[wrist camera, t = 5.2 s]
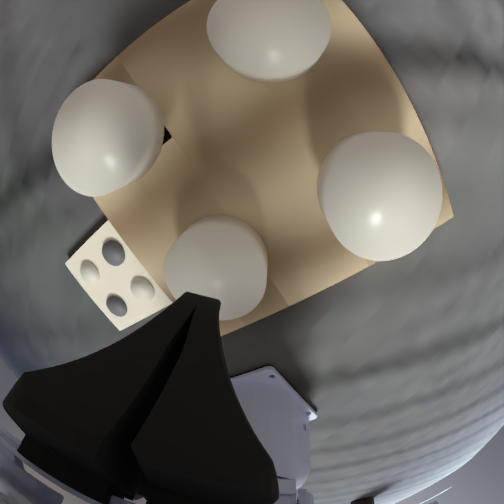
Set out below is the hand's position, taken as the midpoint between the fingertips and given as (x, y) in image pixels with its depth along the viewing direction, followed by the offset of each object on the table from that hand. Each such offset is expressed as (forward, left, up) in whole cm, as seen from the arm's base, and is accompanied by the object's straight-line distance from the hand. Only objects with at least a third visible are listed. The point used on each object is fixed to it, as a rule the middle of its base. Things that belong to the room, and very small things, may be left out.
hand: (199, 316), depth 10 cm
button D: (+8, 0, -5) cm, 10 cm away
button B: (0, 0, -7) cm, 7 cm away
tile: (+2, +8, -7) cm, 11 cm away
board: (+4, -4, -7) cm, 9 cm away
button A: (0, -8, -5) cm, 10 cm away
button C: (+8, -8, -7) cm, 13 cm away
